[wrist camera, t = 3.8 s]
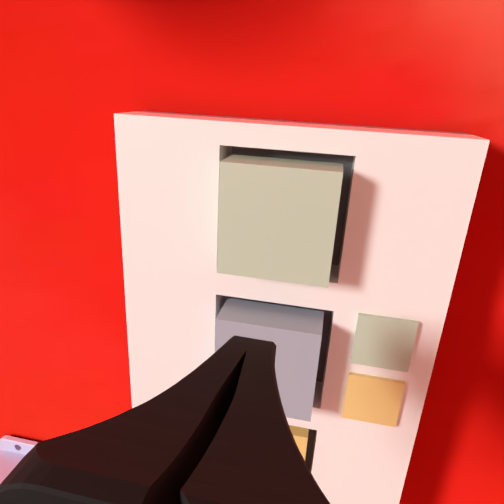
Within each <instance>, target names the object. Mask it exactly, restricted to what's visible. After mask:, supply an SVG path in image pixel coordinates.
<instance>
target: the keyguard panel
mask: <svg viewBox="0 0 504 504" xmlns="http://www.w3.org/2000/svg"><path fill="white" fill-rule="evenodd" d="M114 125H115V141H116V157H117V173H118V189H119V205H120V221H121V237H122V253H123V269H124V285H125V301H126V318H127V334H128V350H129V366H130V382H131V398H132V408H134V407H136V406H139V405H141V404H143V403H145V402H147V401H148V400H150V399H152V398H154V397H155V396H157V395H159V394H161V393H162V392H164V391H165V390H167V389H168V388H170V387H171V386H173V385H174V384H176V383H177V382H178V381H180V380H181V379H183V378H184V377H185V376H187V375H188V374H189V373H191V372H192V371H193V370H195V369H196V368H197V367H198V366H200V365H201V364H202V363H203V362H204V361H206V360H207V359H208V358H209V357H210V356H211V355H213V354H214V353H215V325H216V317H217V316H218V314H219V312H220V310H221V309H222V307H223V305H224V303H225V302H226V300H227V298H233V299H240V300H247V301H254V302H261V303H268V304H275V305H282V306H289V307H296V308H303V309H310V310H317V311H324V317H323V329H322V339H321V346H320V354H319V361H318V369H317V377H316V384H315V392H314V399H313V407H312V415H311V422H309V421H303V420H298V419H293V418H287V417H286V419H287V422H288V424H289V425H292V426H297V427H302V428H307V429H309V432H308V441H307V448H306V456H305V462H306V464H307V466H308V468H309V470H310V472H311V474H312V475H313V477H314V479H315V481H316V482H317V484H318V486H319V487H320V489H321V490H322V492H323V493H324V495H325V496H326V498H327V500H328V501H329V502H330V504H399V502H400V498H401V494H402V490H403V486H404V482H405V478H406V474H407V470H408V466H409V462H410V458H411V454H412V450H413V446H414V442H415V438H416V434H417V430H418V426H419V422H420V418H421V414H422V410H423V406H424V402H425V398H426V394H427V390H428V386H429V382H430V378H431V374H432V370H433V366H434V362H435V358H436V354H437V350H438V346H439V342H440V338H441V334H442V330H443V326H444V322H445V318H446V314H447V310H448V306H449V302H450V298H451V294H452V290H453V286H454V282H455V278H456V274H457V270H458V266H459V262H460V258H461V254H462V250H463V246H464V242H465V238H466V234H467V230H468V226H469V222H470V218H471V214H472V210H473V206H474V202H475V198H476V194H477V190H478V186H479V182H480V178H481V174H482V170H483V166H484V162H485V158H486V154H487V150H488V146H489V142H490V140H488V139H485V138H482V137H478V136H475V135H472V134H469V133H462V132H448V131H433V130H419V129H404V128H389V127H375V126H360V125H346V124H331V123H317V122H302V121H287V120H273V119H258V118H244V117H229V116H214V115H200V114H185V113H171V112H156V111H138V112H126V113H114ZM233 154H235V155H247V156H258V157H270V158H282V159H294V160H306V161H318V162H330V163H342V164H343V179H342V186H341V194H340V201H339V209H338V217H337V224H336V232H335V240H334V247H333V255H332V262H331V270H330V278H329V285H328V288H326V287H318V286H311V285H303V284H296V283H288V282H281V281H273V280H266V279H258V278H251V277H243V276H236V275H228V274H221V273H217V245H218V205H219V165H220V161H222V160H223V159H225V158H227V157H229V156H231V155H233Z"/></svg>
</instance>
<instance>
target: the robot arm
mask: <svg viewBox="0 0 504 504" xmlns="http://www.w3.org/2000/svg"><path fill="white" fill-rule="evenodd" d="M275 356H276V345H275V343H274V342H271V341H265V340H259V339H253V338H247V337H241V336H235V335H234V336H233V337H231V338H230V339H229V340H228V341H227V342H226V343H225V344H224V345H223V346H222V347H220V348H219V349H218V350H217V351H216V352H215V353H214V354H213V355H211V356H210V357H209V358H208V359H207V360H206V361H204V362H203V363H202V364H201V365H200V366H198V367H197V368H196V369H195V370H193V371H192V372H191V373H189V374H188V375H187V376H185V377H184V378H183V379H181V380H180V381H178V382H177V383H176V384H174V385H173V386H171V387H170V388H168V389H167V390H165V391H164V392H162V393H161V394H159V395H157V396H155V397H154V398H152V399H150V400H148V401H147V402H145V403H143V404H141V405H139V406H136V407H134V408H132V409H130V410H128V411H126V412H124V413H122V414H120V415H118V416H116V417H113V418H111V419H108V420H106V421H103V422H101V423H98V424H96V425H93V426H90V427H88V428H85V429H82V430H79V431H76V432H73V433H69V434H66V435H62V436H59V437H56V438H52V439H49V440H46V441H42V442H36V441H31V440H27V439H22V438H18V437H13V436H8V435H5V436H3V437H2V438H1V439H0V449H1V450H0V504H330V502H329V501H328V500H327V498H326V496H325V495H324V493H323V492H322V490H321V489H320V487H319V486H318V484H317V482H316V481H315V479H314V477H313V475H312V474H311V472H310V470H309V468H308V466H307V464H306V462H305V460H304V458H303V456H302V454H301V452H300V450H299V448H298V446H297V444H296V442H295V440H294V437H293V435H292V432H291V430H290V427H289V424H288V422H287V419H286V416H285V413H284V409H283V406H282V402H281V398H280V394H279V390H278V385H277V379H276V373H275Z"/></svg>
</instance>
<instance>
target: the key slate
mask: <svg viewBox="0 0 504 504" xmlns="http://www.w3.org/2000/svg"><path fill="white" fill-rule="evenodd" d="M323 317H324V311H317V310H310V309H303V308H296V307H289V306H282V305H275V304H268V303H261V302H254V301H247V300H240V299H233V298H227V300H226V302H225V303H224V305H223V307H222V309H221V310H220V312H219V314H218V316H217V317H216V325H215V352H216V351H217V350H218V349H219V348H220V347H222V346H223V345H224V344H225V343H226V342H227V341H228V340H229V339H230V338H231V337H233V336H234V335H235V336H241V337H247V338H253V339H259V340H265V341H271V342H274V343H275V345H276V356H275V373H276V379H277V385H278V390H279V394H280V398H281V402H282V406H283V409H284V413H285V416H286V417H287V418H293V419H298V420H303V421H309V422H311V415H312V407H313V399H314V392H315V384H316V377H317V369H318V361H319V354H320V346H321V339H322V329H323Z"/></svg>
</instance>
